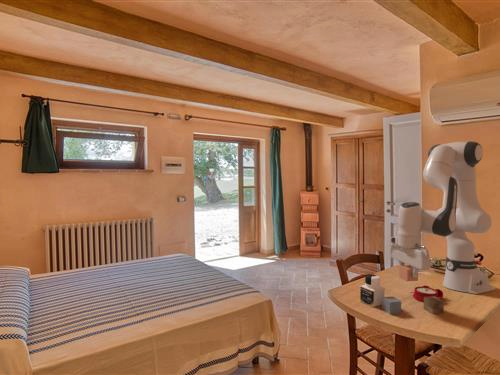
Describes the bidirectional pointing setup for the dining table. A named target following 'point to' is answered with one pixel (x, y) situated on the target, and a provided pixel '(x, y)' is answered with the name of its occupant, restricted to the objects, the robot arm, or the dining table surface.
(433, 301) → the walnut block
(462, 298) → the dining table surface
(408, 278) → the terracotta block
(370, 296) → the medicine bottle
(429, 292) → the alarm clock
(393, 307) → the slate-grey block
